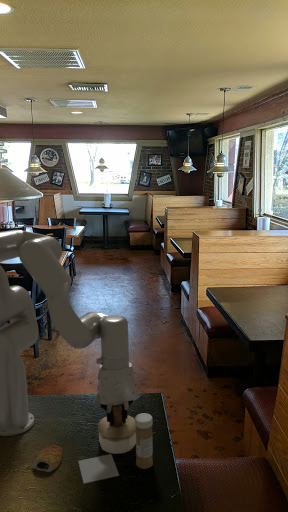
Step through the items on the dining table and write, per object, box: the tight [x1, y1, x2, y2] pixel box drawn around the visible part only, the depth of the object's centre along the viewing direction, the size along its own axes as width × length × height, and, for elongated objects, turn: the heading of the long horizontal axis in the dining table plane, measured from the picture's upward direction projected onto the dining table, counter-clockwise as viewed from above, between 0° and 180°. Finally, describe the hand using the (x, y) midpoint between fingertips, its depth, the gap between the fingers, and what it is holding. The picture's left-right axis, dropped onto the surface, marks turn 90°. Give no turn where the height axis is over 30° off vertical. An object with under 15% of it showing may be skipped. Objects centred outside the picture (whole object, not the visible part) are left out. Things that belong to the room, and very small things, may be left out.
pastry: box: [31, 444, 63, 473], centre depth 111 cm, size 9×7×4 cm
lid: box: [97, 402, 136, 439], centre depth 117 cm, size 11×11×7 cm
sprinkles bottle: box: [134, 412, 154, 470], centre depth 108 cm, size 5×5×14 cm
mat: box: [77, 453, 120, 484], centre depth 107 cm, size 9×9×1 cm
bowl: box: [98, 431, 136, 455], centre depth 118 cm, size 10×10×4 cm
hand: (117, 421), depth 117 cm, fingers closed on lid, 3 cm apart
